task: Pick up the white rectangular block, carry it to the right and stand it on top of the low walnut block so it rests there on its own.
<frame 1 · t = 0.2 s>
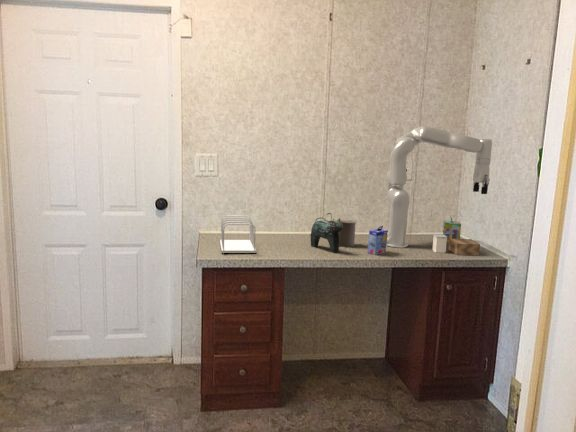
hand: (479, 192, 278), 31 cm above the table, tool pointing down, fingers open, 9 cm apart
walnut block: (463, 252, 271), on the table
file sorter: (237, 248, 264), on the table
pillar candle: (345, 245, 279), on the table
chalk box: (450, 241, 297), on the table
white rectangular block: (438, 251, 271), on the table
animal figurine: (324, 249, 267), on the table
ink cartridge box: (376, 253, 263), on the table
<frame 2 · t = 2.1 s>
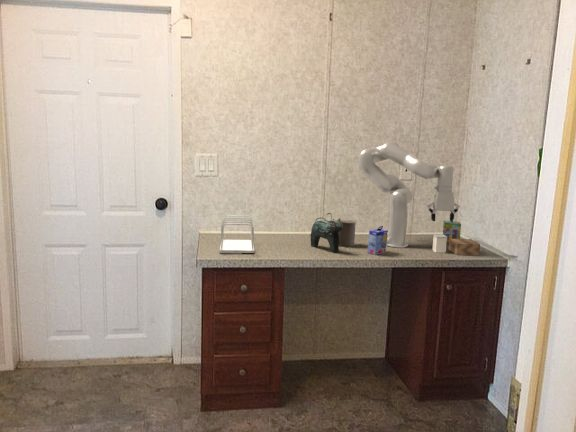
hand: (442, 220, 268), 17 cm above the table, tool pointing down, fingers open, 9 cm apart
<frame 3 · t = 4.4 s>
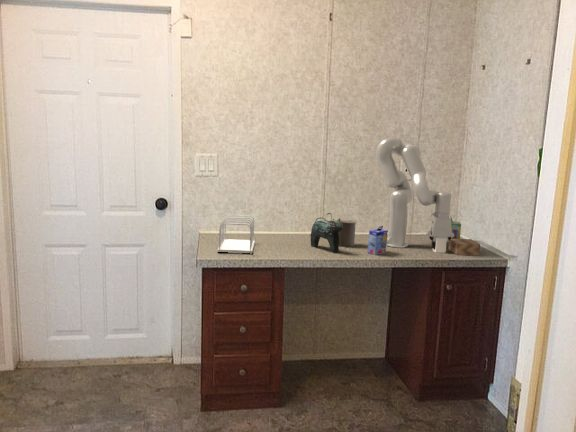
hand: (439, 248, 271), 2 cm above the table, tool pointing down, fingers closed on white rectangular block, 5 cm apart
white rectangular block: (438, 251, 271), on the table, touching gripper
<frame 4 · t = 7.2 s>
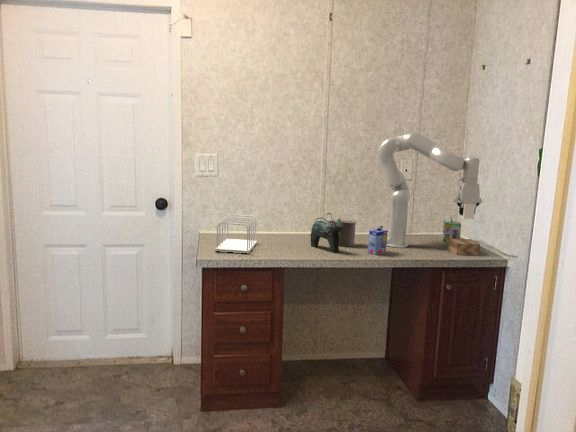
hand: (466, 214, 267), 21 cm above the table, tool pointing down, fingers closed on white rectangular block, 5 cm apart
white rectangular block: (466, 217, 267), point 19 cm above the table, touching gripper
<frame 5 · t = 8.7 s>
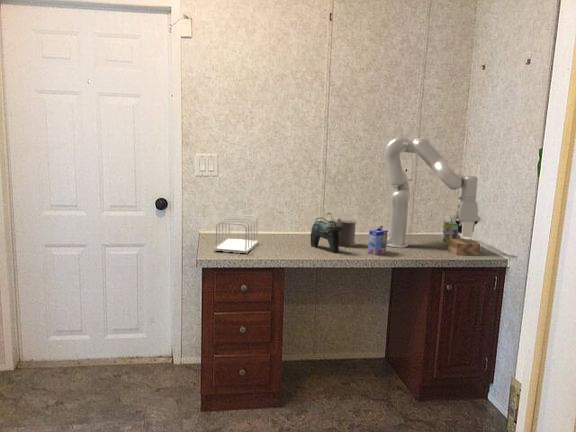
hand: (465, 232, 269), 11 cm above the table, tool pointing down, fingers closed on white rectangular block, 5 cm apart
white rectangular block: (465, 235, 269), point 9 cm above the table, touching gripper
when the fingers open (8 cm above the table, at t = 10.1 s): white rectangular block stays where it is, resting on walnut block.
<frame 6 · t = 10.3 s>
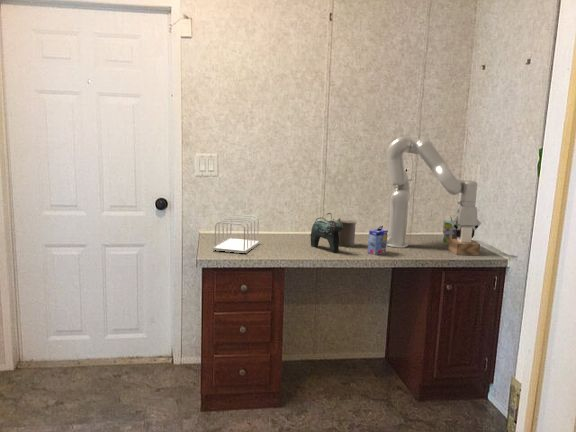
hand: (464, 236, 269), 8 cm above the table, tool pointing down, fingers open, 6 cm apart
white rectangular block: (464, 241, 270), point 6 cm above the table, touching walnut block
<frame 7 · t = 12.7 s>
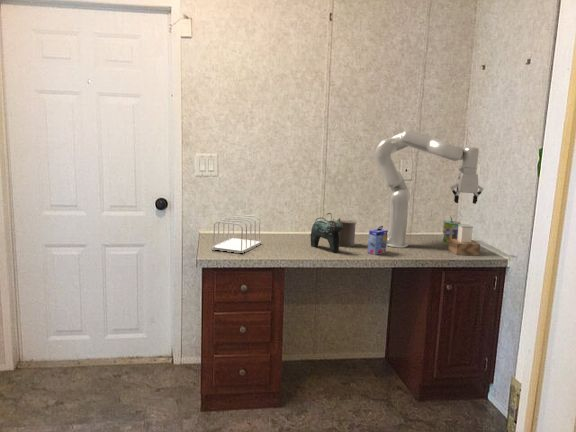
hand: (465, 203, 267), 27 cm above the table, tool pointing down, fingers open, 9 cm apart
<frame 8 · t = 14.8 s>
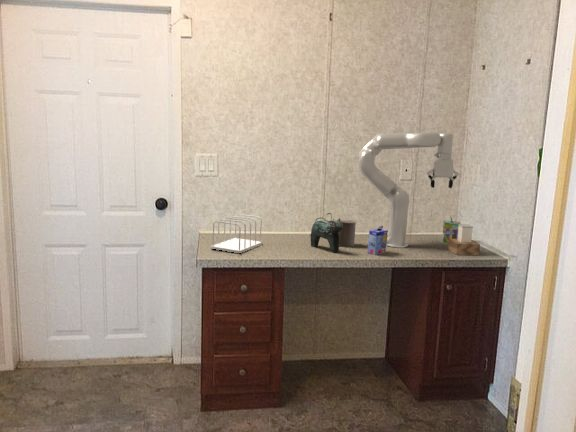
hand: (441, 187, 275), 33 cm above the table, tool pointing down, fingers open, 9 cm apart
at the end: white rectangular block inside the target area on the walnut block (0.1 cm from its centre), point 6.0 cm above the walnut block's base; white rectangular block tilted 0°; the gripper is holding nothing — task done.
